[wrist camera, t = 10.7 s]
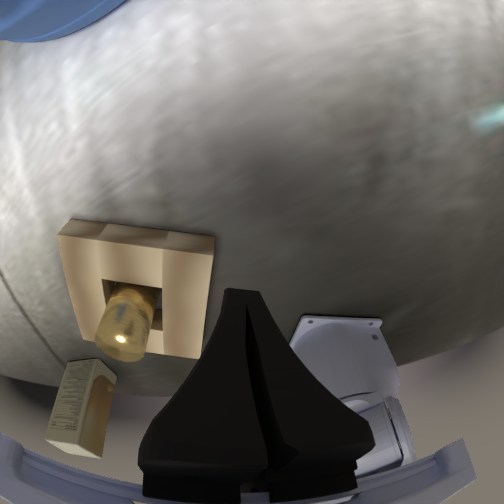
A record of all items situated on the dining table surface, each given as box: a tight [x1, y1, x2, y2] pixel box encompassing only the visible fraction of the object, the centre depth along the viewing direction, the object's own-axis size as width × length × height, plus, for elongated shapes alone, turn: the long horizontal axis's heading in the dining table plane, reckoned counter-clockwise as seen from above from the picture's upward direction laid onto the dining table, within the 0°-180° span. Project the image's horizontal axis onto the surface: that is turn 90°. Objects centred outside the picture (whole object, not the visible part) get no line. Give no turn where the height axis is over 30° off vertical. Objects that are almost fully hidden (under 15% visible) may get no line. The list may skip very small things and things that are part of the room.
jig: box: [57, 219, 215, 359], centre depth 23 cm, size 12×12×2 cm
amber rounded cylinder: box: [95, 281, 161, 362], centre depth 21 cm, size 4×4×7 cm
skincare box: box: [45, 359, 117, 458], centre depth 26 cm, size 6×4×12 cm
